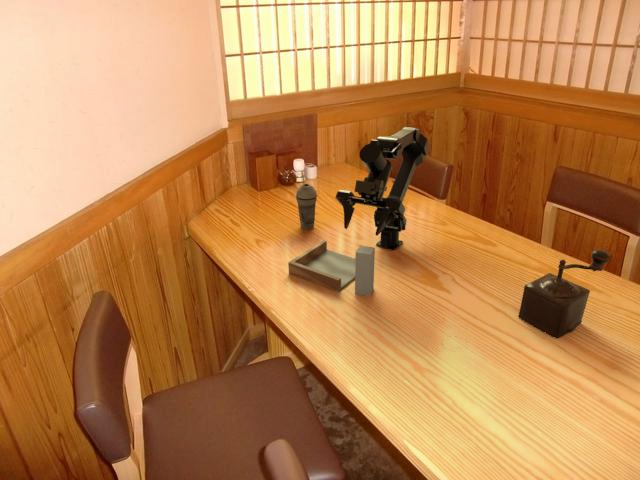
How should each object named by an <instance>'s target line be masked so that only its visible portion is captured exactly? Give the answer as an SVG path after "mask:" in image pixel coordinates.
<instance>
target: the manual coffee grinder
mask: <svg viewBox="0 0 640 480" xmlns="http://www.w3.org/2000/svg"><path fill="white" fill-rule="evenodd" d="M590 256H591V260H592V262H591V263H590V264H589V265H588V266H587V265H583V264H578V263H577V264H576V263H573V264H571V263H570V264H567V261H566V259H560V260H559V264H558V267H557V268H558V272H557V275H556V274H553V273H551V272H548V273H547V274H545V275H543V276H541V277H538V278H537V279H535V280H533V281H530V282H529V283H527V284H525V285H524V288H523V291H522V292H523V293H522V296H521V297H522V298H521V303H520V307H519V311H518V315H517V316H518V317H519V318H518V319H520V318H521V319H520V320H521V321H523V320H524V321H523V322H525V323H526V322H527V324H528V323H529V325H530V324H531V325H530V326H532V325H533V326H532V327H534V328H535V327H536V328H535V329H537V328H538V329H537V330H539V329H540V331H541V332H543V333H544V332H546V333H547V334H546V333H545V334H546V335H548V334H549V335H548V336H550V335H551V336H550V337H552V338H554V337H555V338H554V339H557V338H558V339H559V338H562V337H564V336H566V335H567V334H569V333H571V332H573V331H574V330H576V328H578V327H580V324H582V322H583V317H584V314H585V313H584V312H585V309H586V306H587V303H588V300H589V295H590V292H591V291H590V289H588V288H586V287H583V286H582V285H579V284H577V283H575V282H573V281H570V280H568V279H565V278H563V273H564V270H569V269H570V270H571V269H581V270H591V271H593V272H603V269H604V268H603V266H605V265H606V264H608V262H609V261H610V260H611V255H610V253H609V252H608V251H605V250H604V249H595V250H594V249H593V251H592V252H591V255H590ZM577 326H578V327H577Z"/></svg>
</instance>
